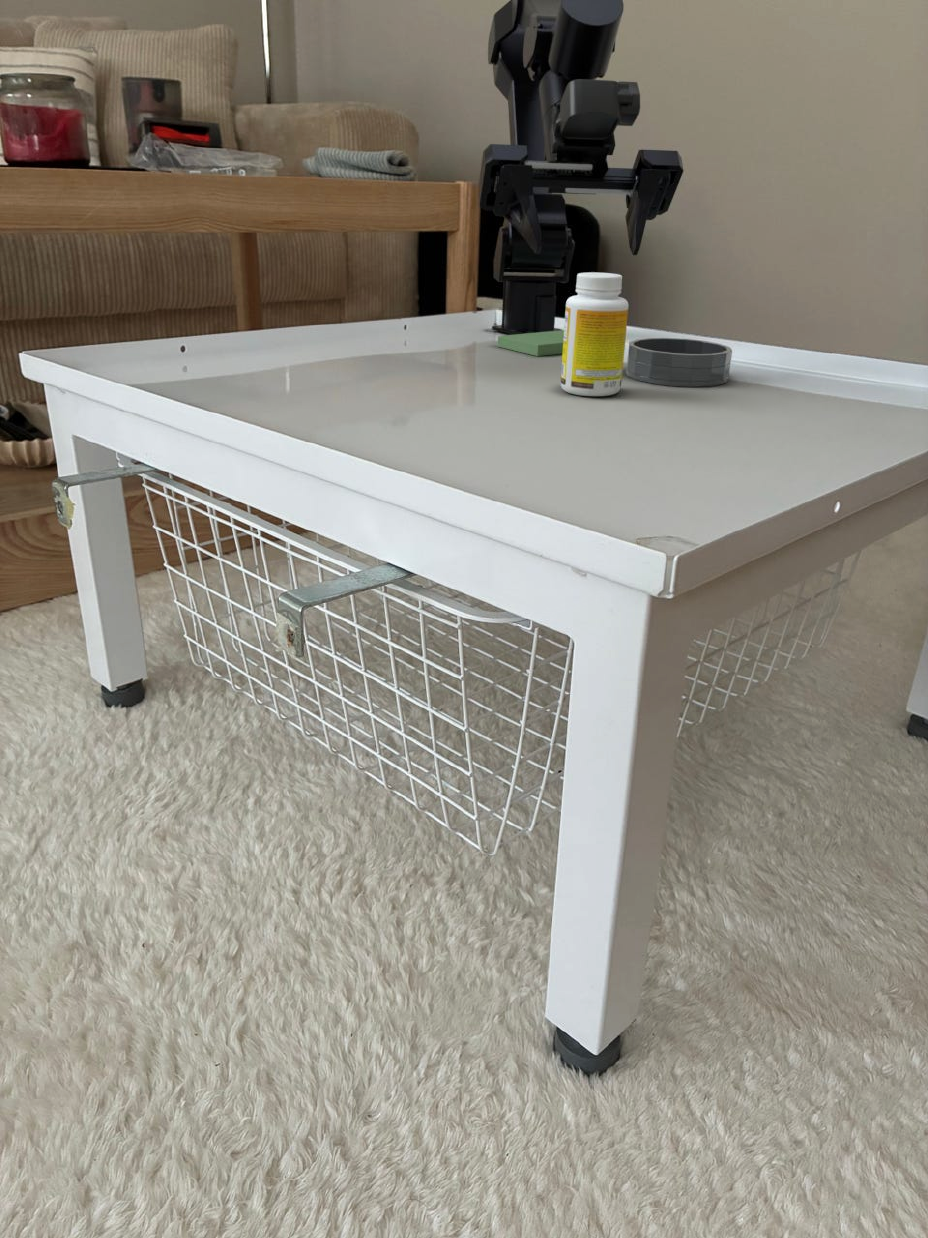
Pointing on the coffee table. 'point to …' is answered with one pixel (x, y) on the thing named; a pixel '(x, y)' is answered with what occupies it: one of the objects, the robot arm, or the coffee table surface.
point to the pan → (678, 362)
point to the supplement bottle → (594, 336)
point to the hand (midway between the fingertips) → (587, 250)
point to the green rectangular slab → (534, 343)
